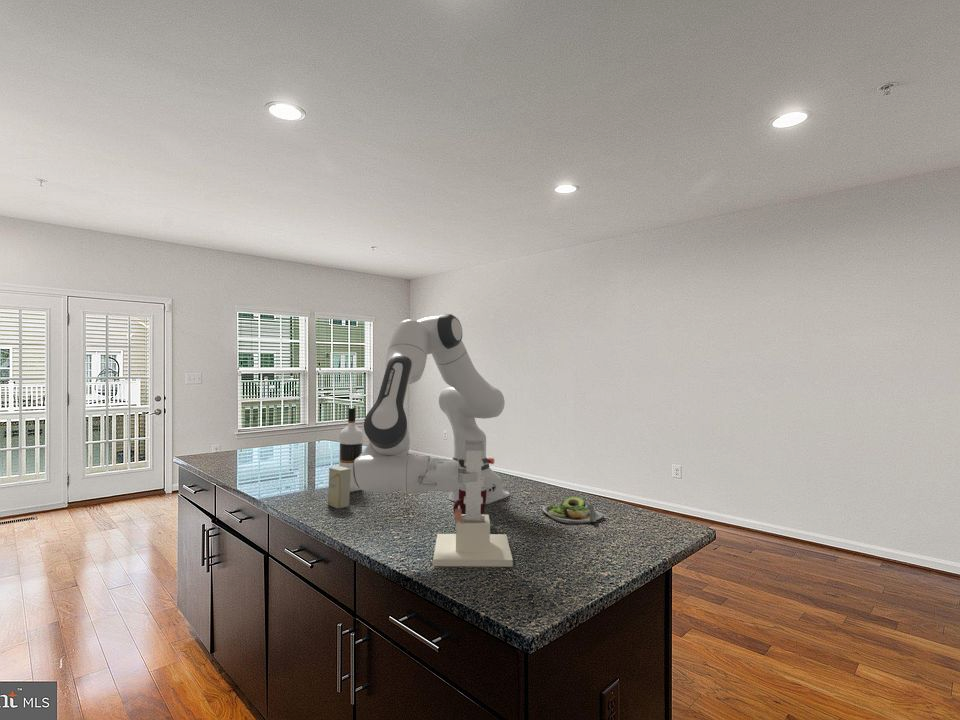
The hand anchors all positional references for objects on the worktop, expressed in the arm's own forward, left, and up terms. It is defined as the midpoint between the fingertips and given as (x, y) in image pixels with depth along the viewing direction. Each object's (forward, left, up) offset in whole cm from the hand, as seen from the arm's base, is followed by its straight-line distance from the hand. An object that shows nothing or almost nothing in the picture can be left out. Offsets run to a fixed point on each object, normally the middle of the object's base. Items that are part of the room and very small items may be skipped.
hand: (477, 475), depth 124 cm
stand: (+1, -1, -19) cm, 19 cm away
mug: (-14, -18, -19) cm, 29 cm away
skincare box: (+4, -60, -19) cm, 63 cm away
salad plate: (-45, -3, -19) cm, 49 cm away
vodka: (-10, -77, -19) cm, 80 cm away
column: (+1, -1, -15) cm, 16 cm away
